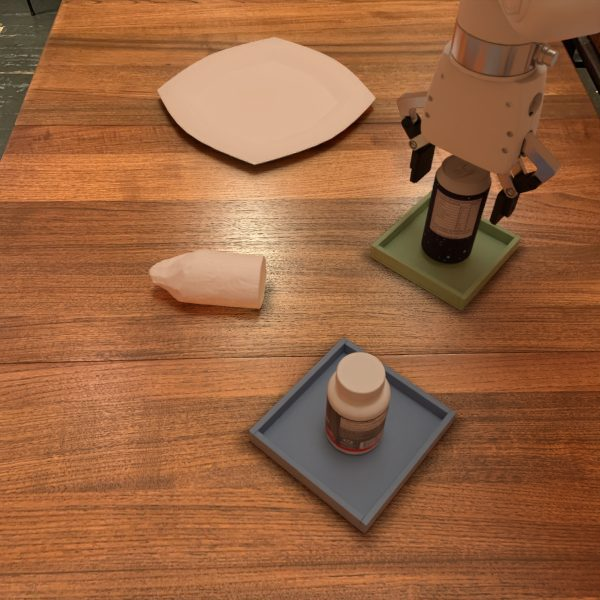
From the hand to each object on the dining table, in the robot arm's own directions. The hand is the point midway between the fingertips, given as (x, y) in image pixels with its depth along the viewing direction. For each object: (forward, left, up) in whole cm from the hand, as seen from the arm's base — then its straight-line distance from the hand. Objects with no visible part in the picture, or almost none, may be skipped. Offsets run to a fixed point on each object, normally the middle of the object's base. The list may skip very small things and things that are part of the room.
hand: (458, 196), depth 69 cm
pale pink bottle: (+16, +22, -9) cm, 29 cm away
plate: (+35, -8, -9) cm, 37 cm away
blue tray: (-6, +25, -9) cm, 27 cm away
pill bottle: (-6, +25, -8) cm, 27 cm away
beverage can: (0, 0, -8) cm, 8 cm away
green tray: (0, 0, -9) cm, 9 cm away
